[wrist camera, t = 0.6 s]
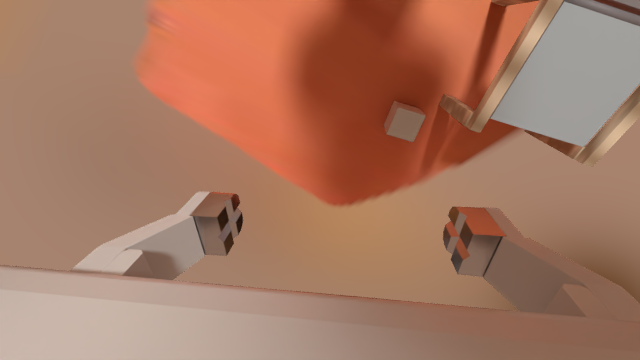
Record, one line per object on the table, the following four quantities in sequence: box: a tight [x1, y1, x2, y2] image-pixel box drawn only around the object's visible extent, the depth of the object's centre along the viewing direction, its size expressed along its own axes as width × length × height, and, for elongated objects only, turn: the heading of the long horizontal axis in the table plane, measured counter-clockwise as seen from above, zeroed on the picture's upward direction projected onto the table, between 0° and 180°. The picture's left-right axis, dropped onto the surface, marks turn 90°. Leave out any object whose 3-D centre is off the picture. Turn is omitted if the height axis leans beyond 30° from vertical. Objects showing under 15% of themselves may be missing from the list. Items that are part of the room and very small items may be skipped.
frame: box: [439, 0, 640, 167], centre depth 37 cm, size 18×19×14 cm
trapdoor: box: [490, 0, 640, 147], centre depth 32 cm, size 18×14×2 cm
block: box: [384, 101, 426, 142], centre depth 46 cm, size 5×5×5 cm
